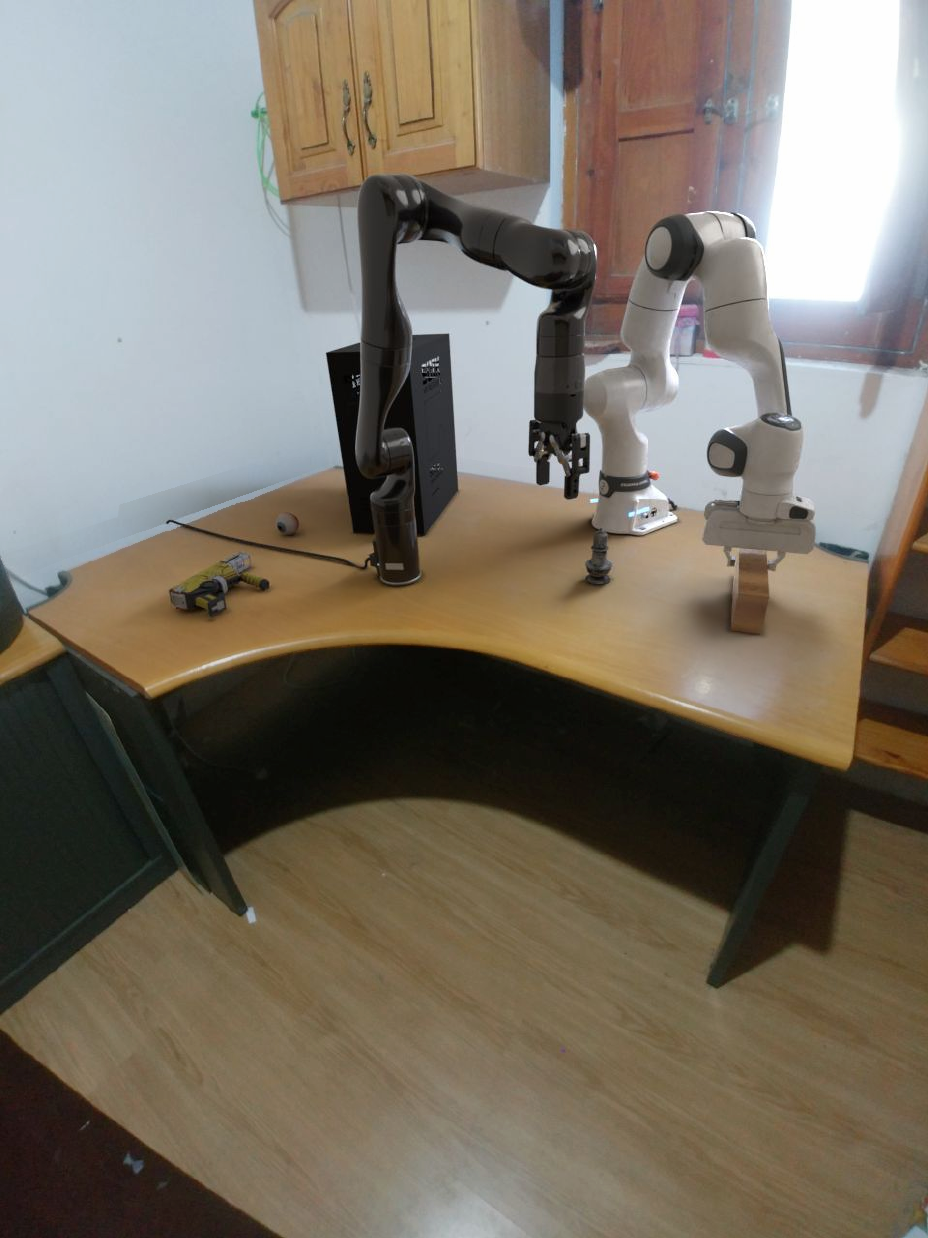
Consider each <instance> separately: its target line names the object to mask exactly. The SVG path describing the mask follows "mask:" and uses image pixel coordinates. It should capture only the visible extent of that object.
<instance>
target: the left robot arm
mask: <svg viewBox="0 0 928 1238" xmlns="http://www.w3.org/2000/svg"><path fill="white" fill-rule="evenodd" d="M357 195H358V196H357V203H356V221H357V222H356V224H357V240H358V252H359V264H360V265H359V266H360V267H359V268H360V287H361V288H360V291H361V292H360V295H361V299H360V300H361V301H360V302H361V303H360V305H361V308H360V309H361V320H360V363H361V380H360V381H359V382H360V384H359V385H360V404H359V414H358V423H357V432H356V444H355V452H356V460H357V464H358V467H359V470H360V472H361V473H362V474H363V475H364V476H365V477H366V478H369V479H376V478H381V477H385V476H387V478H386V479H385V481H384V482H383V483H382V485H381V486H379V487H378V488H377V489H376V490H374V491H373V492H372V494H371V496H370V502H371V509H372V517H373V524H374V531H375V533H374V538H373V539H372V549H373V552H372V553H370V554H369V555H368V557H367V558H365V560H364V565H363V566H359V565H357V564H355V563H353V562H351V561H350V560H348V559H345V558H342V557H338V556H337V557H336V556H331V555H326V554H320V553H314V552H309V551H302V550H297V549H292V548H285V547H282V546H281V547H280V546H275V545H268V544H264V543H260V542H256V541H255V542H254V541H249V540H245V539H240V538H236V537H233V536H230V535H229V536H228V535H224V534H220V533H216V532H213V531H211V530H210V531H209V530H206V529H202V528H198V527H196V526H192V525H189V524H186V523H183V522H179V521H176V520H174V519H168V520H167V521H166V522H165V525H169V524H170V523H172V524H175V525H178V526H181V527H185V528H188V529H191V530H194V531H198V532H201V533H205V534H208V535H212V536H215V537H218V538H223V539H227V540H230V541H234V542H238V543H244V544H247V545H253V546H257V547H261V548H262V547H263V548H266V549H267V548H268V549H273V550H277V551H283V552H289V553H295V554H300V555H306V556H310V557H317V558H322V559H327V560H333V561H339V562H342V563H345V564H347V565H349V566H352V567H353V568H357V569H359V570H366V569H367V568H368V565H369V564H370V567H373V568H375V569H376V577H377V579H379V580H380V582H382V583H383V584H385V585H386V586H387V585H388V586H391V587H401V586H408V585H411V584H414V583H416V582H418V581H419V580H420V579H421V578H422V571H421V570H422V569H421V562H420V561H421V560H420V551H419V541H418V535H417V529H416V519H415V509H414V493H415V475H414V454H413V447H412V443H411V440H410V437H409V435H408V434H407V432H406V431H405V430H404V429H403V428H401V427H390V428H385V429H384V423H385V419H386V416H387V413H388V410H389V408H390V406H391V404H392V403H393V401H394V399H395V398H396V396H397V394H398V393H399V391H400V389H401V387H402V386H403V384H404V382H405V380H406V378H407V376H408V373H409V370H410V364H411V352H412V335H413V327H412V323H411V319H410V317H409V314H408V312H407V309H406V307H405V305H404V303H403V301H402V298H401V295H400V293H399V289H398V285H397V278H396V275H397V274H396V272H397V271H396V268H397V267H396V266H397V265H396V264H397V250H398V245H405V244H412V243H414V242H418V241H424V242H425V241H428V242H429V241H430V242H438V243H443V244H447V245H449V246H451V247H454V248H455V249H457V251H458V252H460V253H461V254H462V255H463V256H465V257H466V258H468V259H469V260H471V261H473V262H476V263H478V264H481V265H483V266H486V267H489V268H492V269H495V270H498V271H501V272H505V273H509V274H511V275H513V276H514V277H516V278H518V279H519V280H521V281H523V282H525V283H526V284H529V285H531V286H533V287H535V288H539V289H543V290H548V291H551V292H550V297H549V302H548V306H547V308H546V309H545V310H543V311H542V312H541V313H539V315H538V317H537V320H536V328H535V334H536V336H535V363H534V371H533V372H534V373H533V418H534V419H531V420H530V419H529V422H528V423H529V424H528V448H527V449H528V451H527V453H528V456H529V457H533V461H534V463H535V466H536V467H535V483H536V485H538V486H545V485H548V484H550V480H551V478H550V474H551V472H550V471H551V469H550V468H551V462H550V460H551V458H552V456H554V457H556V460H557V463H558V464H560V465H561V466H562V468H563V473H564V481H563V498H564V499H565V500H567V501H569V500H573V499H577V498H578V497H579V493H580V477H581V475H584V474H589V473H590V471H591V470H590V466H591V435H590V433H589V432H584V433H579V432H578V428H577V424H578V422H579V421H580V420H582V419H583V417H584V386H585V381H586V362H585V347H586V345H585V344H586V320H587V317H588V313H589V309H590V307H591V301H592V297H593V294H594V289H595V284H596V279H597V273H598V253H597V247H596V245H595V242H594V239H593V238H592V237H591V236H590V235H589V233H587V232H586V231H584V230H581V229H575V228H574V229H573V228H572V229H566V228H565V229H563V228H561V229H560V228H558V229H557V228H551V227H545V226H540V225H536V224H533V223H532V221H530V220H528V219H527V218H525V217H523V216H520V215H517V214H514V213H510V212H506V211H504V210H500V209H496V208H491V207H487V206H483V205H479V204H475V203H471V202H468V201H464V200H462V199H459V198H457V197H454V196H452V195H449V194H448V193H446V192H444V191H442V190H440V189H438V188H437V187H435V186H432V185H431V184H429V183H427V182H426V181H424V180H422V179H420V178H418V177H416V176H414V175H412V174H408V173H375V174H370V175H369V176H367V177H366V178H365V179H364V180H363V181H362V183H361V185H360V188H359V191H358V194H357ZM536 443H537V444H536ZM535 445H536V446H535ZM570 453H571V454H570ZM581 459H582V463H581V461H580V460H581ZM570 463H571V464H570Z"/></svg>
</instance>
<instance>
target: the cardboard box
mask: <svg viewBox="0 0 928 1238" xmlns="http://www.w3.org/2000/svg"><path fill="white" fill-rule="evenodd" d="M450 342H451V340H450V333H429V334H428V333H424V334H423V333H422V334H412V352H411V364H410V370H409V373H408V376H407V378H406V380H405V382H404V384H403V386H402V387H401V389H400V391H399V393H398V394H397V396H396V398H395V399H394V401H393V403H392V404H391V406H390V408H389V410H388V413H387V416H386V419H385V423H384V429H385V428H390V427H401V428H403V429H404V430H405V431H406V432H407V434H408V435H409V437H410V440H411V443H412V447H413V454H414V475H415V493H414V509H415V519H416V529H417V536H426V534H428V532H429V531H430V529H431V528H432V526H433V525H434V524H435V522H436V521H437V520H438V519H439V517H440V515H441V514H442V513H443V512H444V510H445V509H446V507H447V506H448V505H449V503H450V502H451V501H452V500H453V498H454V497H455V495H456V494H457V493H458V491H459V481H458V480H459V479H458V461H457V446H456V444H457V443H456V427H455V409H454V407H455V406H454V393H453V392H454V390H453V375H452V357H451V343H450ZM325 356H326V362H327V364H326V365H327V370H328V374H329V383H330V390H331V396H332V402H333V409H334V415H335V421H336V428H337V429H336V430H337V435H338V441H339V448H340V454H341V455H340V456H341V461H342V469H343V474H344V482H345V487H346V493H347V499H348V508H349V513H350V514H349V515H350V520H351V526H352V527H351V528H352V532H353V533H355V534H356V533H357V534H375V531H374V524H373V517H372V509H371V502H370V496H371V494H372V492H373V491H374V490H376V489H377V488H378V487H379V486H381V485H382V483H383V482H384V481H385V479H386V478H387V476H385V477H381V478H376V479H369V478H366V477H365V476H364V475H363V474H362V473H361V472H360V470H359V467H358V464H357V460H356V452H355V444H356V432H357V423H358V414H359V404H360V380H361V363H360V342H359V341H358V342H355V343H353V344H350V345H347V346H343V347H339V348H337V349H333V350H330V351H327V352H325ZM433 360H434V361H433ZM423 365H425V366H423Z"/></svg>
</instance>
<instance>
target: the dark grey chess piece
mask: <svg viewBox="0 0 928 1238" xmlns="http://www.w3.org/2000/svg"><path fill="white" fill-rule="evenodd" d="M602 530H603V529H602V527H601V528H600V530H597V531H595V532H594V534H593V541H592V545H591V547H590V549H591V551H592V552H591V558H590V559H588V560H586V561H585V562H584V566H585V568H586V571H587V573H588V574H587V575H586V576H585V581H586V582H587V583H590V584H593V585H604V584H605V585H606V584H608V583H610V581H611V577H610V576H609V575H608V574H609V573H610V572H611V570H612V568H613V566H614V565H613V562H612V561H611V560H609V559H608V557H607V556H608V555H607V554H608V553H607V552H608V550H609V546H608V536H609V535H608V532H605V531H602Z"/></svg>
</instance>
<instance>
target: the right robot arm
mask: <svg viewBox="0 0 928 1238" xmlns="http://www.w3.org/2000/svg"><path fill="white" fill-rule="evenodd" d="M754 225H755V224H754V223H753V221H752V220H751V219H749V218H748V217H747V216H745V215H743V214H740V213H737V212H721V211H709V210H708V211H701V212H694V213H693V212H692V213H687V214H686V213H685V214H682V213H677V214H672V215H669V216H666V217H664V218H662V219H660V220H658V221H657V222H656V223H655V224H654V225H653V226H652V228H651V229H650V231H649V233H648V235H647V237H646V240H645V241H646V242H645V246H644V254H643V256H642V258H641V261H640V263H639V265H638V268H637V270H636V272H635V276H634V278H633V282H632V284H631V288H630V292H629V295H628V300H627V303H626V307H625V311H624V316H623V319H622V324H621V327H620V338H621V341H622V343H623V344H624V345H625V347H626V348H627V349H629V350H630V358H629V363H628V365H626V366H621V367H613V368H607V369H603V370H601V371H599V372H597V373H594V374H592V375H590V376H588V377H587V378H585V386H584V409H583V411H584V412H585V413H586V414H587V416H588V417H590V418H591V419H592V420H593V421H594V422H595V424H596V426H597V427H598V430H599V433H600V438H601V468H600V470H599V474H598V492H599V493H598V498H591V499H590V500H589V502H590V504H592V503H596V507H595V511H594V514H593V517H592V520H591V525H592V526H593V527H594V528H595V529H597V530H598V531H600V528H601V527H602V529H603V530H602V531H604V532H606V533H611V534H623V535H625V534H626V535H632V536H633V535H634V536H645V535H646V534H650V533H652V532H654V531H657V530H660V529H662V528H665V527H668V526H670V525H672V524H675V523H677V522H678V516H677V515H676V514H675V513H674V512H672V511H670V506H671V508H672V509H674V510H676V509H678V505H677V504H675V502H674V501H673V500H671V499H670V498H669V497H667V496H666V495H665V494H664V493H663V492H661V491H660V490H659V489H658V488H656V487H655V486H654V485H652V483H651V480H653V481H658V479H659V478H660V473H659V472H657V471H654V470H651V471H649V470H648V469H647V466H648V458H649V457H648V455H649V447H650V443H649V439H648V437H647V436H646V435H645V434H644V433H643V432H641V431H640V430H639V429H638V428H637V424H636V415H638V414H642V413H649V412H653V411H657V410H659V409H661V408H663V407H665V406H667V405H669V404H671V403H672V402H673V401H674V400H675V398H676V397H677V395H678V392H679V386H680V380H679V375H678V373H677V371H676V369H675V368H674V366H672V363H671V357H670V355H671V353H670V352H671V351H670V349H671V342H672V336H673V333H674V330H675V326H676V322H677V319H678V316H679V312H680V309H681V305H682V302H683V298H684V295H685V291H686V288H687V286H688V284H689V283H690V282H691V281H697V282H698V283H699V284H700V286H701V288H702V294H703V333H704V338H705V342H706V344H707V346H708V348H709V349H710V350H711V351H712V352H713V353H714V354H715V355H716V356H717V357H719V358H721V359H723V360H725V361H728V362H730V363H733V364H735V365H738V366H739V367H741V368H743V369H744V370H746V371H747V373H748V374H749V376H750V377H751V379H752V383H753V389H754V390H753V391H754V396H755V401H756V402H755V403H756V411H757V418H756V419H754V420H752V421H749V422H746V423H742V424H736V425H732V426H728V427H727V426H726V427H724V428H722V429H718V430H717V431H716V432H714V433H713V435H712V436H711V437H710V439H709V441H708V444H707V447H706V460H707V464H708V466H709V468H710V469H711V470H712V471H713V473H715V474H716V475H717V476H719V477H727V478H740V479H741V480H742V485H741V490H740V494H739V500H732V499H729V500H728V499H727V500H724V499H714V500H712V501H709V502H707V504H706V505H705V508H704V513H703V517H704V519H705V523H704V527H703V532H702V535H701V541H702V542H703V544H704V545H705V546H713V547H714V546H715V547H723V553H724V555H725V557H726V567H731V568H735V565H736V560H737V555H736V556H735V555H732V553H731V552H732V550H733V548H737V549H739V548H745V549H755V550H766V551H767V552H776V556H775V557H774V558H773V559H767V566H768V572H776V570H777V566H778V564H779V563H780V562H782V561H783V559H785V558H786V555H787V554H788V553H789V554H797V555H809V554H810V553H812V552H813V551H814V548H815V544H816V533H817V527H816V523H815V520H814V518H815V514H816V507H815V504H814V502H813V501H812V500H811V499H810V498H807V497H804V496H802V495H799V494H796V493H793V491H794V477H795V474H796V472H797V471H798V468H799V465H800V462H801V461H800V460H801V457H802V451H803V444H804V426H803V423H802V422H801V421H800V419H798V418H797V417H795V416H793V413H792V412H793V411H792V405H791V398H790V397H791V396H790V390H789V382H788V372H787V365H786V358H785V353H784V347H783V344H782V342H781V339H780V338H779V336H777V335H776V332H775V330H774V327H773V324H772V320H771V315H770V305H769V304H770V303H769V300H770V299H769V278H768V269H767V265H766V258H765V254H764V249H763V246H762V244H761V243H760V242H758V241H757V233H756V228H755V226H754Z"/></svg>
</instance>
